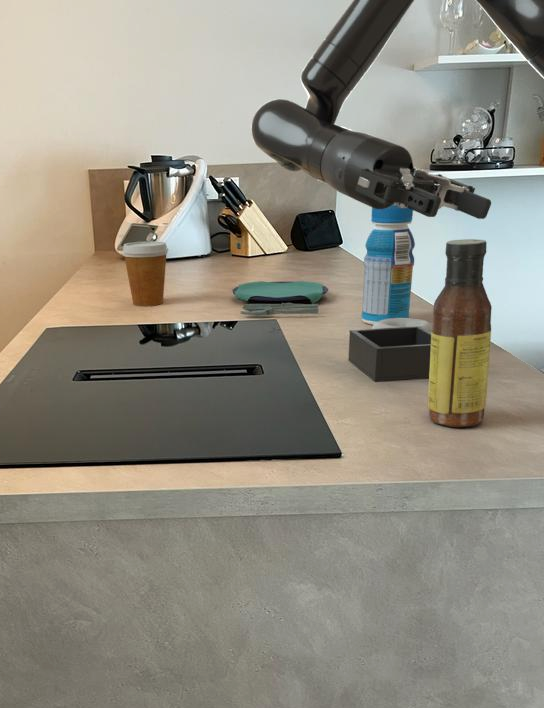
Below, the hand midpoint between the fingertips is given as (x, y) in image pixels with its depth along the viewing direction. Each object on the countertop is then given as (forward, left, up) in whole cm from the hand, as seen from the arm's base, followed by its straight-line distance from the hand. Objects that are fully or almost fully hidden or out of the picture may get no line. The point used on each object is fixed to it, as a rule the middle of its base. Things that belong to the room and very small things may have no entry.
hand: (462, 209), depth 87 cm
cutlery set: (+5, -69, -23) cm, 73 cm away
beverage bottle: (-9, -46, -23) cm, 52 cm away
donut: (-6, -30, -23) cm, 38 cm away
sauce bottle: (+2, +7, -23) cm, 24 cm away
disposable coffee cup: (+31, -77, -23) cm, 86 cm away
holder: (0, -16, -23) cm, 28 cm away
